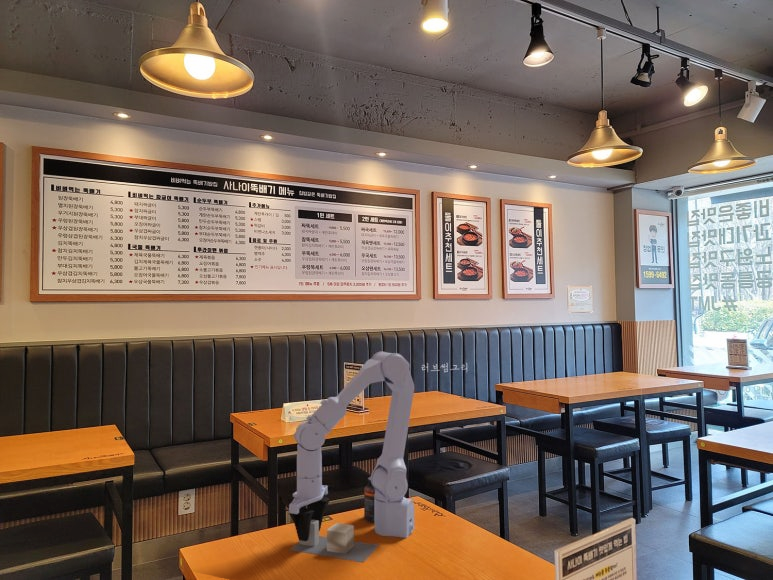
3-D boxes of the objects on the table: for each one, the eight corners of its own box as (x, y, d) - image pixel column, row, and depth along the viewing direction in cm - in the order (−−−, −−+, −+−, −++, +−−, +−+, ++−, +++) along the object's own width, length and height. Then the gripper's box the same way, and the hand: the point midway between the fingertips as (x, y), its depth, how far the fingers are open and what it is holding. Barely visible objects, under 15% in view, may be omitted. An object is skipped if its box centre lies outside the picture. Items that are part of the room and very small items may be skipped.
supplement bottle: (384, 527, 132) (384, 482, 133) (361, 526, 133) (361, 480, 134) (389, 519, 138) (388, 475, 139) (367, 517, 139) (367, 474, 140)
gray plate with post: (379, 549, 119) (378, 522, 120) (363, 567, 111) (362, 537, 111) (309, 538, 126) (309, 513, 126) (289, 554, 117) (289, 526, 118)
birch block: (353, 545, 119) (353, 525, 119) (345, 554, 115) (345, 533, 115) (335, 543, 121) (335, 522, 121) (326, 551, 117) (326, 530, 117)
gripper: (309, 465, 130) (309, 521, 129) (277, 482, 116) (277, 545, 115) (335, 468, 127) (335, 525, 126) (305, 485, 114) (305, 550, 113)
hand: (309, 535), depth 121 cm, fingers open, 5 cm apart
